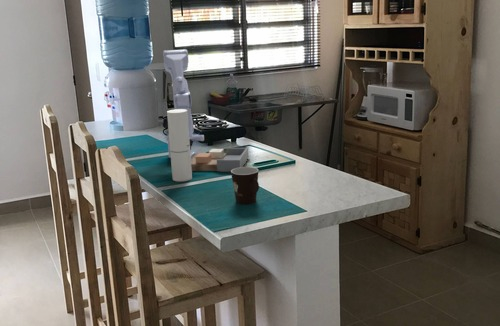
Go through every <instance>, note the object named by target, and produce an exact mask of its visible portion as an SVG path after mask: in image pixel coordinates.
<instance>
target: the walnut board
mask: <svg viewBox="0 0 500 326" xmlns="http://www.w3.org/2000/svg"><path fill="white" fill-rule="evenodd" d="M199 153H200V152H195V153H194V154H193V155H192V156H191V168H192V172H193V171H198V172H199V171H201V172H203V171H205V172H210V171H211V172H218V171H217V159H221V160H223V158H224V157H225V156H226V155H227V152H224V156H223V157H222V158H211V161H210V162H209V163H196V158H195V157H196V156H197V155H198V154H199Z"/></svg>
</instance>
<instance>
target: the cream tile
mask: <svg viewBox="0 0 500 326" xmlns="http://www.w3.org/2000/svg"><path fill="white" fill-rule="evenodd" d="M224 151H225V149H224V148H211V149H210V150H209V151H208V153H211V158H222V157H223V156H224V153H225V152H224Z"/></svg>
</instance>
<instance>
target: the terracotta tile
mask: <svg viewBox="0 0 500 326" xmlns="http://www.w3.org/2000/svg"><path fill="white" fill-rule="evenodd" d="M198 153H199V154H198V155H197V156H196V157H195V158H196V163H209V162H210V161H211V153H209V152H198Z"/></svg>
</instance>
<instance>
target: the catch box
mask: <svg viewBox="0 0 500 326" xmlns="http://www.w3.org/2000/svg"><path fill="white" fill-rule="evenodd" d="M226 153H227V155H226V156H225V157H224V158H223V160H221V159H217V171H216V172H224V173H225V172H230V173H231V170H232V169H235V168H239V167H244V166H245V165H246V163H247V162H246V161H248V160H249V159H248V158H249V147H226ZM247 159H248V160H247ZM245 162H246V163H245ZM244 164H245V165H244ZM243 165H244V166H243Z"/></svg>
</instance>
